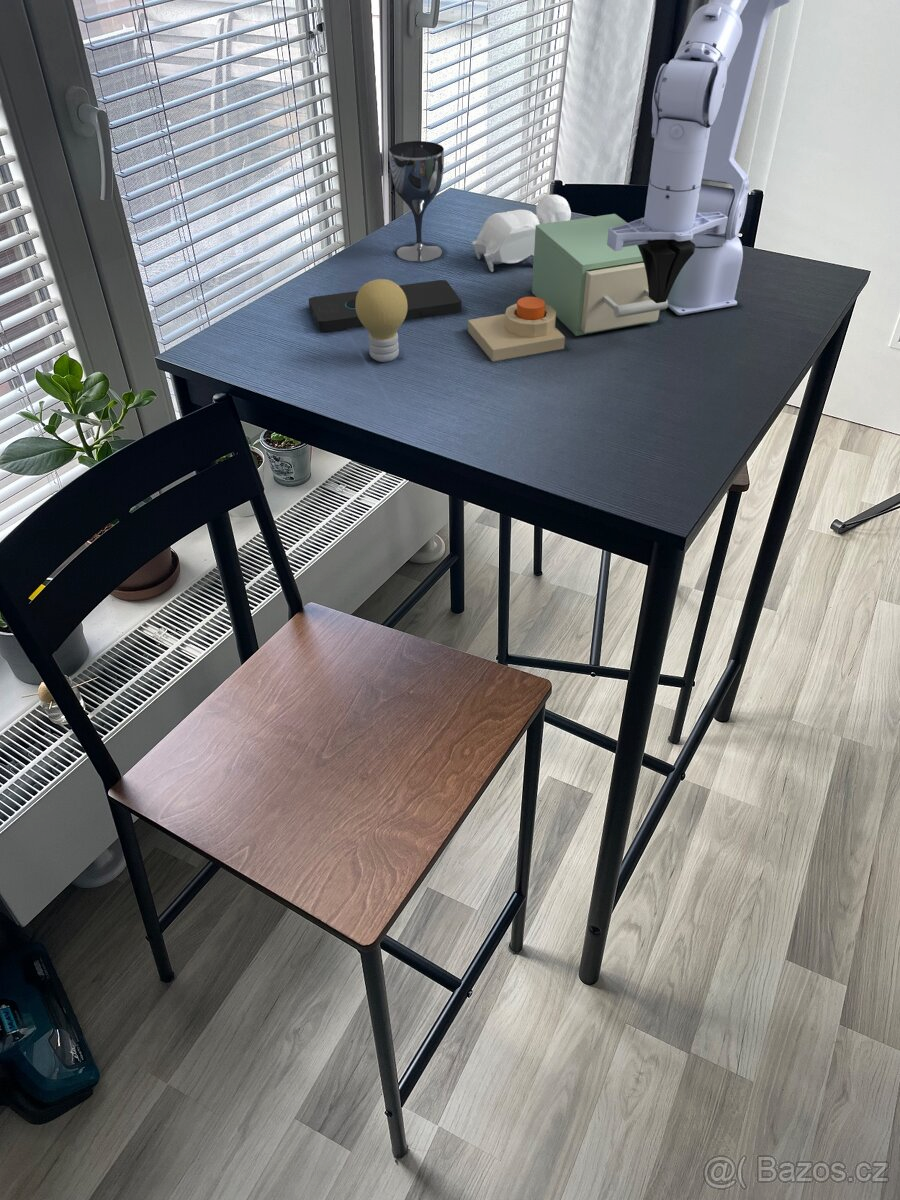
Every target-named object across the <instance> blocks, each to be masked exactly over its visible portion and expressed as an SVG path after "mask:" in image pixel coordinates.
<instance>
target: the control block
mask: <svg viewBox="0 0 900 1200" xmlns="http://www.w3.org/2000/svg"><path fill="white" fill-rule="evenodd" d="M556 320H557V317H556V311H555V310H554V309H553V308H552V307H550V306H548V305H545V313H544V317H543V318H542V319H538V320H524V319H521V318H518V317H517V303H514V304H512V305H509V306H508V307H507V308H506V310H505V313H502V314H497V315H489V316H484V317H477V318H472V319H467V332H468V334H469V335H470V336H471V337H472V338H473V340H474V341H475V342H476V344H478V346H479V347H480V349H482V351H483V352H484V353H485V354H486V356H487V357H488V358H489V359H490V361H492V362H497V361H502V360H509V359H513V358H520V357H526V356H530V355H537V354H542V353H546V352H547V353H548V352H552V351H558V350H564V349H565V342H566V336H565V335H564V334H563V333H562V332H561V331H560V330H559V329H558V328H557V327H556Z"/></svg>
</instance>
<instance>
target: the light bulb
mask: <svg viewBox="0 0 900 1200" xmlns="http://www.w3.org/2000/svg"><path fill="white" fill-rule="evenodd" d="M357 291H358V293H357V296H356V304H355V308H356V313H357V316H358V318H359V320H360V321H361V323H362V324H363V326H364V328H365V329H366V330H367V331H368V332H369V334H368V347H369V355H370V358H372V359H373V360H375V361H377V362H380V363H381V362H382V363H387V362H391V361H393V360H395V359H396V358H397V357H398V356H399V354H400V348H399V345H400V344H399V334H398V332H397V331H398V330H399V328H401V326H402V324H403V323H404V319H405V317H406V314H407V307H408V305H407V299H406V296H405V293H404V292H403V290H402V289H401V288H400V287H399V284H397V283H396V282H395V281H392V280H391V279H386V278H376V279H373V280H370V281H368V282H366V283H364V284H363V285H362V286H360V288H359V289H358V290H357Z"/></svg>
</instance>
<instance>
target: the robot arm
mask: <svg viewBox="0 0 900 1200" xmlns="http://www.w3.org/2000/svg"><path fill="white" fill-rule="evenodd" d="M788 3H791V0H708V3H706V4H704V5H702V6H699V8H697V10H695V12H694V13H693V15H692V16H691V18H690V21H689V22H688V25H687V27H686V30H685V31H684V34H683V36H682V39H681V41H680V44H679V46H678V47H677V51H676V53H675V55H674V58H672V59H670V60H669V61H668V64H667V63H662V64H661V65H660V67H659V70H658V72H657V75H656V78H655V83H654V87H653V93H652V101H651V103H652V104H651V113H652V125H651V138H653V139H654V142H653V150H652V156H651V164H650V165H651V166H650V170H649V171H650V172H649V179H648V188H647V195H646V202H645V209H644V217H640V218H639V219H635V220H633V221H630V222H627V224H624V225H621V226H618V227H614V228H609V230H608V239H607V245H608V246H609V247H610V248H611V249H613V250H614V251H618V250H622V248H623V247H627V246H634V245H637V246H638V248H639V250H640V253H641V256H642V258H643V262H644V265H645V269H646V275H647V281H648V292H649V298H650V299H652V300H653V301H654V302H655V303H662V302H666V301H667V300H668V307H667V309H669V310H671V311H672V312H673V313H675V314H676V315H677V316H685V315H690V314H695V313H700V312H701V313H702V312H706V311H712V310H718V309H724V308H730V307H735V306H737V305H738V301H737V300H736V299H735V298H736V294H737V288H738V284H739V278H740V274H741V269H742V265H743V258H744V250H743V245H742V241H741V239H740V238H739V237H738V235H739V233H740V231H741V228H742V225H743V222H744V219H745V214H746V210H747V203H748V196H749V191H750V187H751V186H750V185H751V183H750V178H749V176H748V174H747V173H746V171H745V170H744V169H743V168H742V167H741V165H740V164H739V163H738V162H737V161H736V159H735V156H736V153H737V148H738V145H739V141H740V135H741V132H742V128H743V124H744V120H745V116H746V112H747V109H748V103H749V99H750V95H751V92H752V88H753V83H754V79H755V74H756V72H757V71H756V70H757V66H758V63H759V59H760V55H761V51H762V46H763V42H764V39H765V35H766V30H767V28H768V26H769V23H770V21H771V19H772V16H773V14H774V11H775V10H776V9H778V8H780V7H782V6H784V5H787V4H788ZM702 181H706V182H714V183H720V184H726V185H730V186H731V187H724V186H718V185H711V184H704V183H702Z"/></svg>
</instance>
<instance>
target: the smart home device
mask: <svg viewBox="0 0 900 1200" xmlns="http://www.w3.org/2000/svg"><path fill="white" fill-rule="evenodd" d="M398 286H399V287H400V288H401V289H402V290H403V292H404V293H405V296H406V299H407V305H408V307H407V314H406V317H405V319H404V321H412V320H418V319H419V320H420V319H426V318H433V317H434V318H435V317H442V316H449V315H455V314H459V313H462V300H461V298H460V297H459V295H458V294H457V293H456V291H455V290H454V288H453V287H452V286H451V285H450V283H449V282H448V281H447V280H446V279H439V280H438V279H437V280H429V281H422V282H414V283H407V284H400V285H399V284H398ZM358 291H359V290H356V291H355V290H354V291H347V292H346V291H345V292H339V293H333V294H325V295H317V296H313V297H309V298H308V307H309V311H310V314H311V317H312V319H313V321H314V323H315V326H316V327H317V329H318V332H320V333H329V332H331V333H332V332H337V331H343V330H344V331H345V330H349V329H355V328H356V329H357V328H363V327H364V326H363V324H362V323H361V321H360V320H359V318H358V316H357V313H356V308H355V304H356V296H357V293H358ZM404 321H403V322H404ZM364 328H365V327H364Z"/></svg>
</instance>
